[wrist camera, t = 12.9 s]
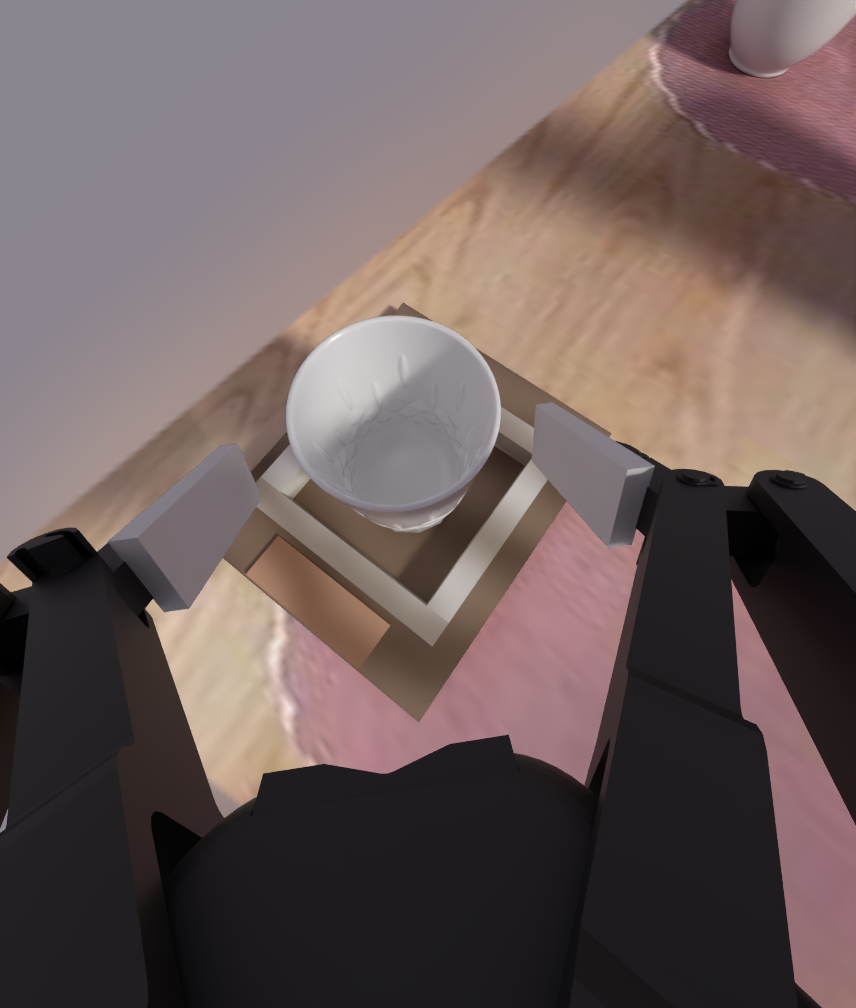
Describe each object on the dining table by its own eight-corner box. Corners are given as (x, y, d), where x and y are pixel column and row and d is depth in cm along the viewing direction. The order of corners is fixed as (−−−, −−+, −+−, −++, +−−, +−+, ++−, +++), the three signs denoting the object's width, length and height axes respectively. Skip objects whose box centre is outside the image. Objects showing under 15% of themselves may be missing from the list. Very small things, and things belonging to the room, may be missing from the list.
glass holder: (404, 315, 26) (401, 279, 23) (602, 440, 24) (628, 419, 20) (207, 536, 22) (170, 530, 19) (419, 713, 20) (417, 739, 17)
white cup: (376, 562, 21) (328, 548, 11) (333, 455, 22) (257, 357, 12) (489, 512, 21) (539, 457, 11) (439, 411, 23) (446, 287, 13)
